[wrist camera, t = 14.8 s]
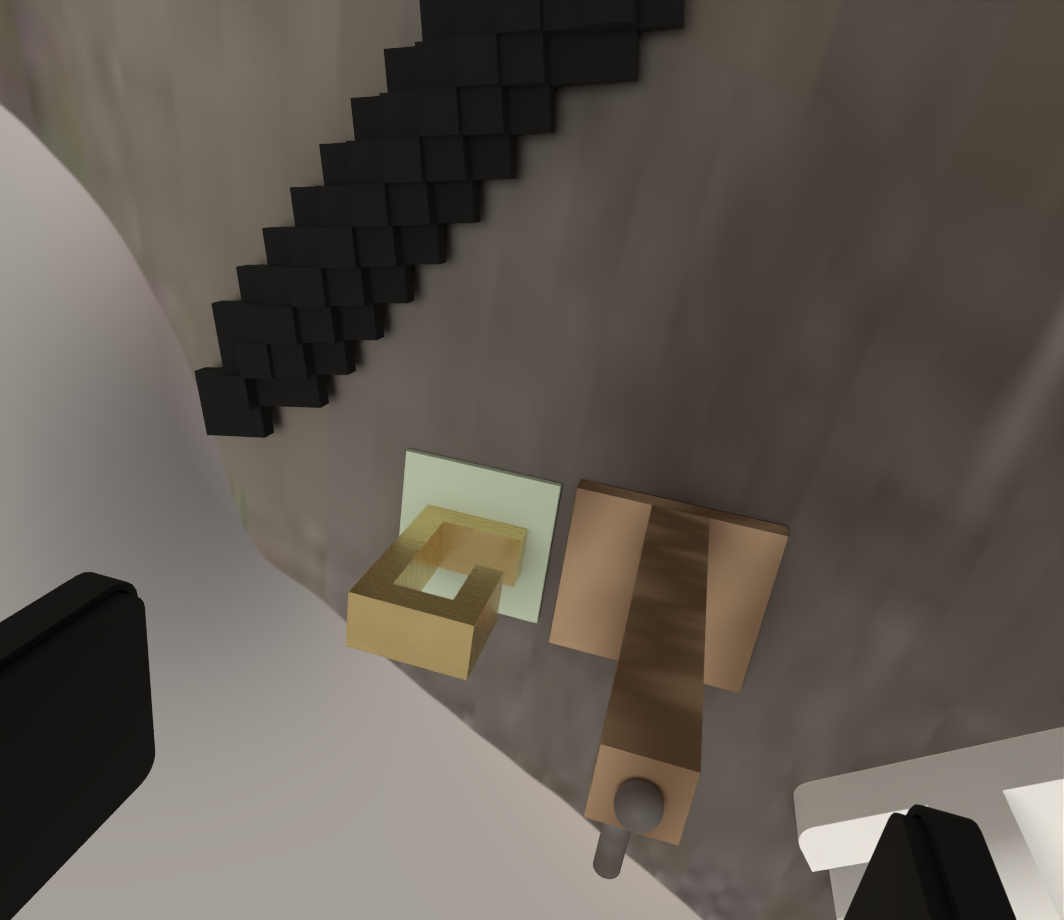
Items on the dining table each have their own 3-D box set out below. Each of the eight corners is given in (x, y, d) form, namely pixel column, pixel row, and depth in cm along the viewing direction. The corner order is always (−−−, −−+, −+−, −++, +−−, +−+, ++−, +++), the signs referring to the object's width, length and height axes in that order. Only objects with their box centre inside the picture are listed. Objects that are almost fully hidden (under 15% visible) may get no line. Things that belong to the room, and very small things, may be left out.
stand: (786, 526, 39) (846, 846, 20) (730, 707, 43) (737, 1103, 25) (581, 479, 40) (462, 733, 22) (548, 658, 45) (427, 992, 26)
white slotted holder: (1182, 849, 40) (1333, 1067, 30) (846, 901, 46) (879, 1095, 37) (1130, 708, 38) (1273, 892, 28) (786, 783, 44) (805, 954, 35)
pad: (562, 483, 41) (560, 486, 40) (538, 619, 44) (536, 623, 44) (409, 448, 42) (406, 450, 42) (397, 582, 46) (395, 585, 45)
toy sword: (895, -210, 28) (919, -265, 24) (320, 456, 44) (285, 479, 41) (700, -434, 27) (696, -523, 24) (187, 329, 43) (140, 342, 40)
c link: (527, 528, 42) (473, 625, 33) (520, 574, 43) (466, 680, 34) (428, 504, 43) (348, 591, 34) (423, 549, 44) (345, 645, 35)
